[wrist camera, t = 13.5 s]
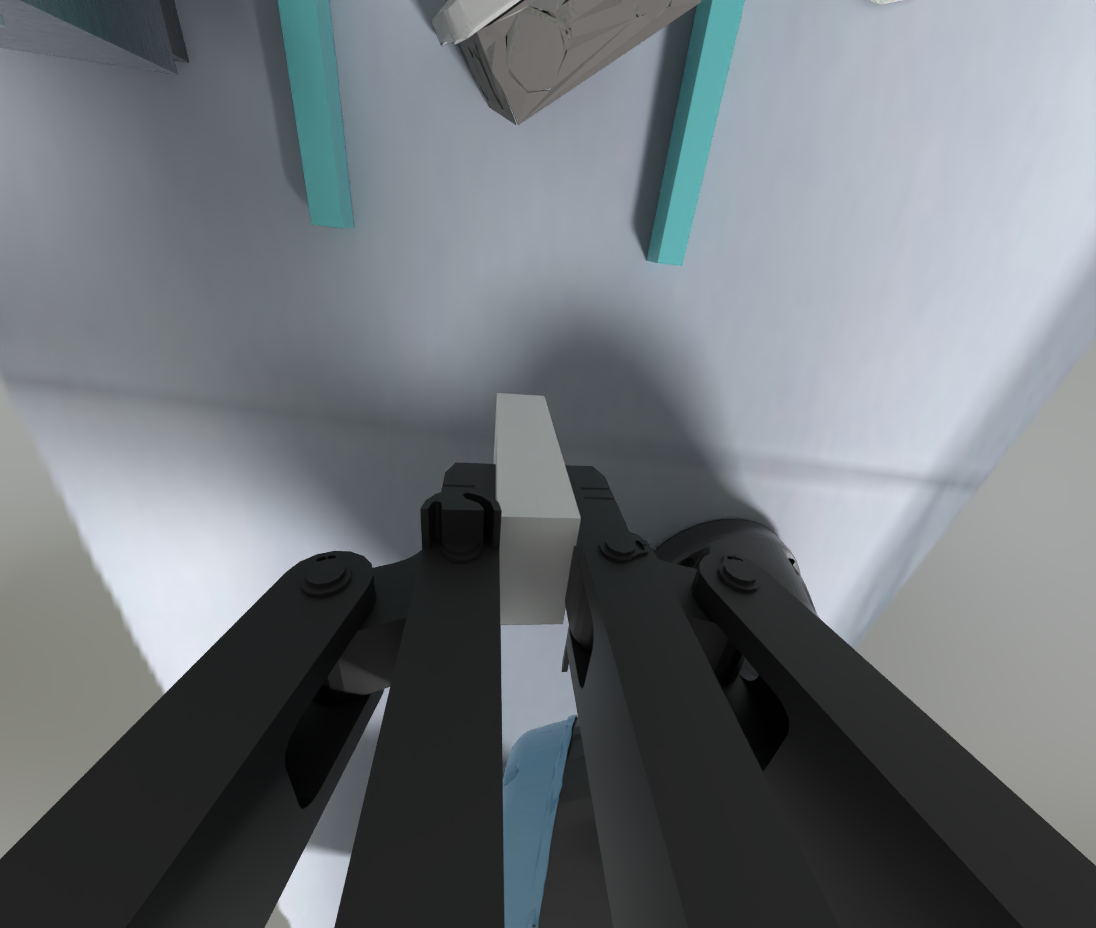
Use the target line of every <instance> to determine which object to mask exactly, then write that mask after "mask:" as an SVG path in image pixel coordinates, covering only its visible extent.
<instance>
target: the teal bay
mask: <svg viewBox="0 0 1096 928" xmlns="http://www.w3.org/2000/svg"><path fill="white" fill-rule="evenodd" d="M744 2H745V0H701V3H699V4H698V5H697V7H696V12H695V17H694V22H693V27H692V32H691V37H690V42H689V47H688V52H687V58H686V63H685V68H684V73H683V78H682V83H681V88H680V93H679V98H678V103H677V108H676V113H675V118H674V123H673V129H672V134H671V139H670V144H669V149H668V154H667V159H666V164H665V169H664V174H663V179H662V184H661V189H660V194H659V200H658V205H657V210H656V215H655V220H654V225H653V230H652V235H651V240H650V245H649V250H648V255H647V261H651V262H655V263H661V264H670V265H679V266H682V264H683V260H684V256H685V251H686V247H687V243H688V239H689V235H690V230H691V226H692V222H693V218H694V213H695V209H696V205H697V201H698V196H699V192H700V188H701V184H702V179H703V175H704V171H705V167H706V163H707V158H708V154H709V150H710V146H711V141H712V137H713V133H714V129H715V124H716V120H717V116H718V112H719V107H720V103H721V99H722V95H723V91H724V86H725V82H726V78H727V74H728V69H729V65H730V61H731V57H732V52H733V48H734V44H735V40H736V35H737V31H738V27H739V23H740V19H741V14H742V10H743V6H744ZM278 7H279V13H280V20H281V27H282V33H283V40H284V47H285V53H286V60H287V66H288V73H289V80H290V86H291V93H292V99H293V106H294V113H295V119H296V126H297V133H298V139H299V146H300V152H301V159H302V166H303V172H304V179H305V186H306V192H307V199H308V205H309V212H310V219H311V225H319V226H328V227H337V228H354V223H353V214H352V204H351V195H350V186H349V177H348V167H347V158H346V149H345V140H344V130H343V121H342V112H341V103H340V93H339V84H338V75H337V65H336V56H335V47H334V38H333V28H332V19H331V10H330V1H329V0H278Z"/></svg>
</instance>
